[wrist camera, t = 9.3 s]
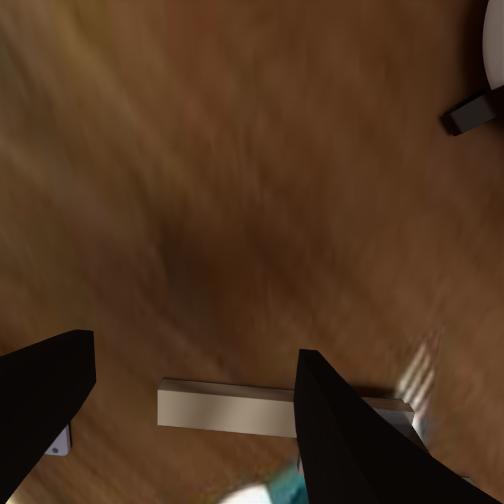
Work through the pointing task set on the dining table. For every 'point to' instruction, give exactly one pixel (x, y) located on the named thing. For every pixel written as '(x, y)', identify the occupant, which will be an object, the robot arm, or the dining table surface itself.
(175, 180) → the dining table surface
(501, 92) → the coffee press
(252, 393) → the rail
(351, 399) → the robot arm
